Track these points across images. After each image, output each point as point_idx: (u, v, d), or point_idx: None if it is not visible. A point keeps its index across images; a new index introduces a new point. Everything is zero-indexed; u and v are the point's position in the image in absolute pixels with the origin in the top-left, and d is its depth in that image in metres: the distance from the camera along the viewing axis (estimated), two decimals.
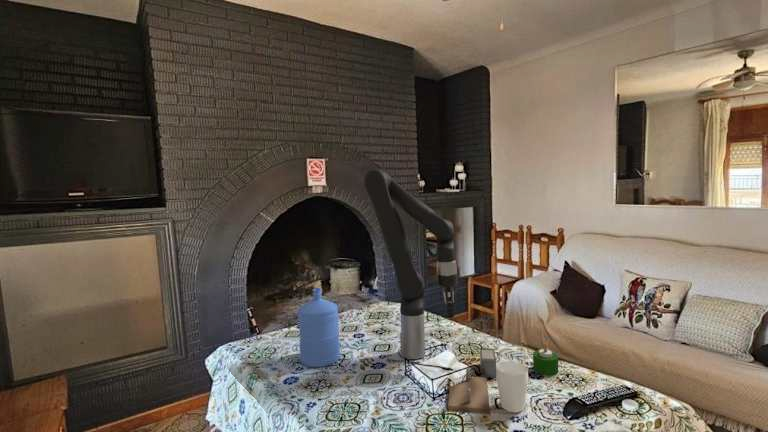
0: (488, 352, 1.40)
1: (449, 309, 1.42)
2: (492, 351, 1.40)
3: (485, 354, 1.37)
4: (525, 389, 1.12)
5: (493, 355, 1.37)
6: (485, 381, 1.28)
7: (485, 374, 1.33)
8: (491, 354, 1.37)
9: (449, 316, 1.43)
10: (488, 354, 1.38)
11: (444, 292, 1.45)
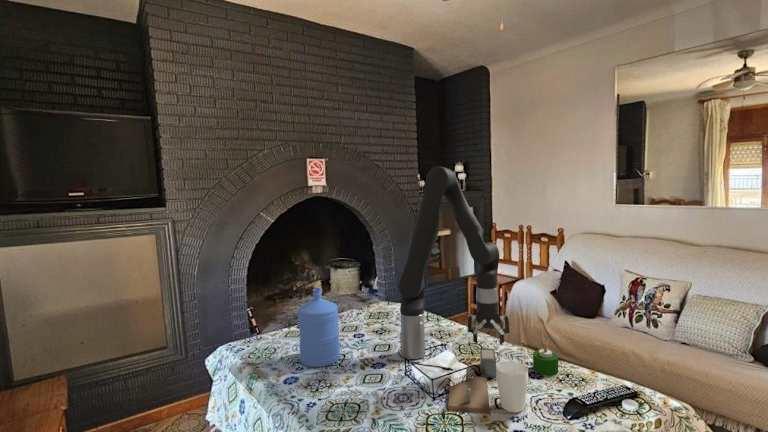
0: (488, 352, 1.40)
1: None
2: (492, 351, 1.40)
3: (485, 354, 1.37)
4: (525, 389, 1.12)
5: (493, 355, 1.37)
6: (485, 381, 1.28)
7: (485, 374, 1.34)
8: (491, 354, 1.37)
9: (503, 342, 1.36)
10: (488, 354, 1.38)
11: (494, 320, 1.35)
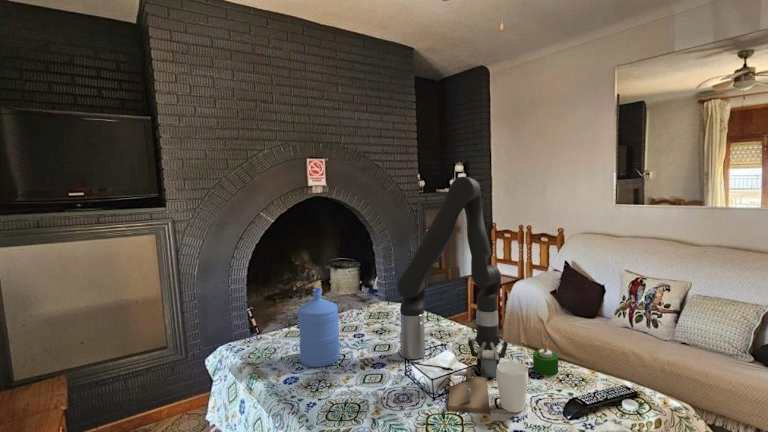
0: (488, 351, 1.40)
1: None
2: (492, 351, 1.40)
3: (485, 354, 1.37)
4: (525, 389, 1.12)
5: (493, 355, 1.37)
6: (485, 381, 1.28)
7: (485, 374, 1.34)
8: (491, 354, 1.37)
9: None
10: (488, 354, 1.38)
11: (493, 343, 1.36)
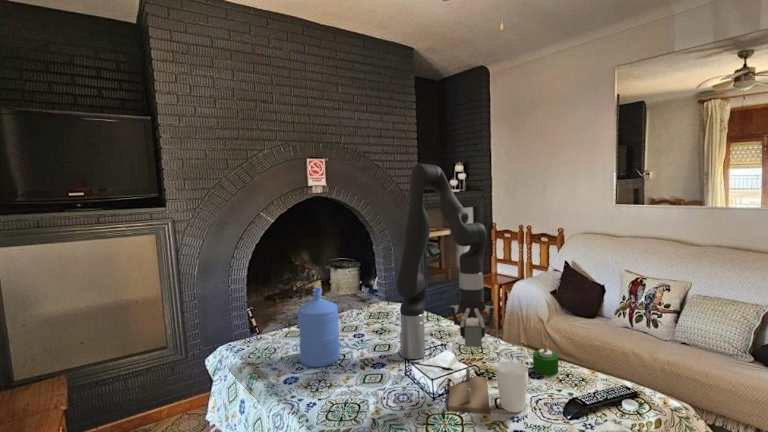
0: (472, 320, 1.26)
1: None
2: (477, 319, 1.26)
3: (470, 322, 1.23)
4: (525, 389, 1.12)
5: (478, 322, 1.23)
6: (485, 381, 1.28)
7: (470, 343, 1.19)
8: (475, 322, 1.23)
9: (484, 335, 1.23)
10: (472, 322, 1.24)
11: (478, 310, 1.22)
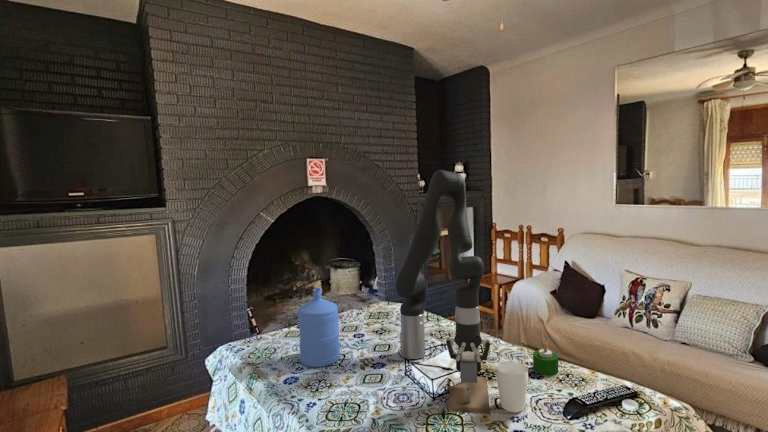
0: (468, 353, 1.24)
1: None
2: (473, 352, 1.24)
3: (466, 356, 1.22)
4: (525, 389, 1.12)
5: (474, 357, 1.21)
6: (485, 381, 1.28)
7: (465, 378, 1.18)
8: (471, 356, 1.22)
9: (480, 370, 1.21)
10: (469, 355, 1.22)
11: (474, 344, 1.20)
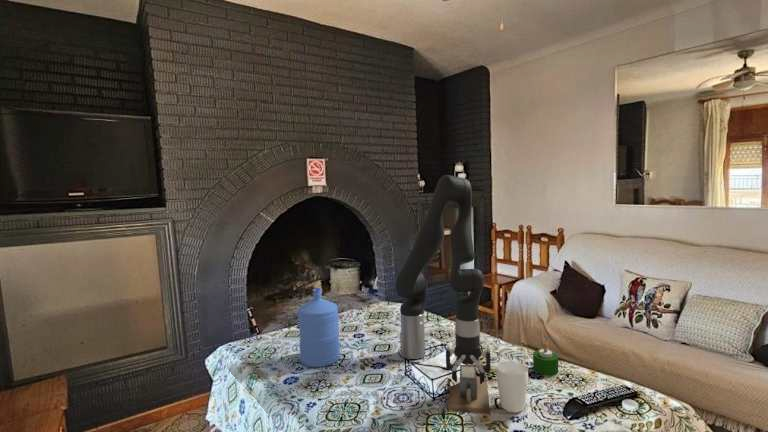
0: (468, 369, 1.24)
1: None
2: (473, 368, 1.25)
3: (465, 372, 1.22)
4: (525, 389, 1.12)
5: (474, 373, 1.22)
6: (485, 381, 1.28)
7: (465, 395, 1.18)
8: (471, 372, 1.22)
9: None
10: (468, 372, 1.22)
11: (474, 356, 1.20)
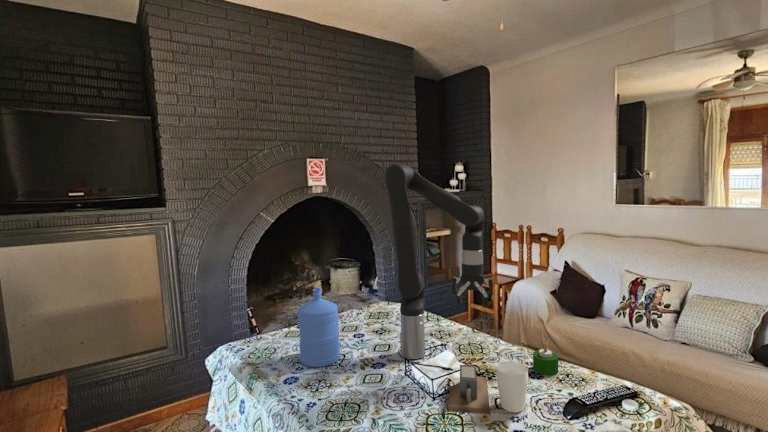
0: (468, 369, 1.24)
1: None
2: (473, 368, 1.25)
3: (465, 372, 1.22)
4: (525, 389, 1.12)
5: (474, 373, 1.22)
6: (485, 381, 1.28)
7: (465, 395, 1.18)
8: (471, 372, 1.22)
9: None
10: (468, 372, 1.22)
11: (477, 282, 1.36)
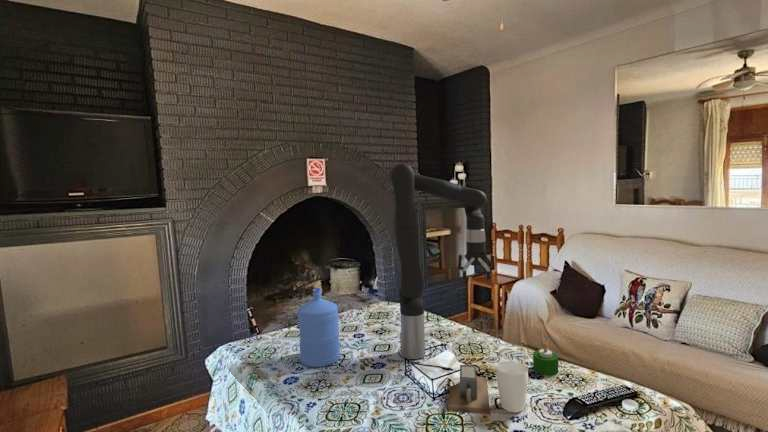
0: (468, 369, 1.24)
1: None
2: (473, 368, 1.25)
3: (465, 372, 1.22)
4: (525, 389, 1.12)
5: (474, 373, 1.22)
6: (485, 381, 1.28)
7: (465, 395, 1.18)
8: (471, 372, 1.22)
9: (489, 278, 1.54)
10: (468, 372, 1.22)
11: (481, 258, 1.53)
